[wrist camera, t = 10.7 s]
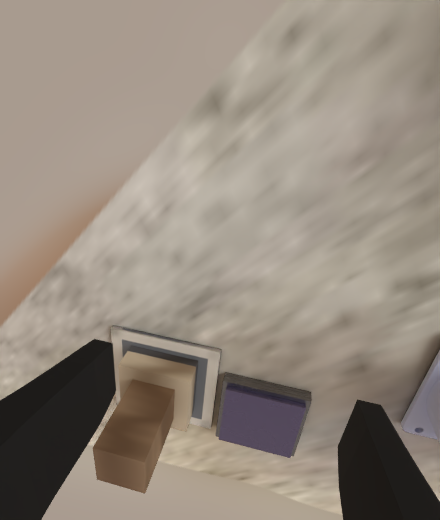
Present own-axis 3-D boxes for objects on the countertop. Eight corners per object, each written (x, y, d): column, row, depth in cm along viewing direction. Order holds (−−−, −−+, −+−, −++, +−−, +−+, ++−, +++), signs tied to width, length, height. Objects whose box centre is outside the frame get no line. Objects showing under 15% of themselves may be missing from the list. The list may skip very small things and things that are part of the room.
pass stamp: (198, 360, 23) (162, 456, 17) (194, 408, 26) (161, 507, 20) (131, 345, 24) (74, 431, 18) (133, 393, 26) (83, 484, 20)
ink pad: (310, 392, 23) (311, 406, 22) (293, 446, 26) (293, 461, 25) (225, 372, 24) (222, 385, 23) (217, 426, 27) (214, 440, 25)
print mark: (221, 349, 23) (220, 352, 23) (211, 425, 27) (210, 428, 26) (112, 325, 24) (110, 328, 24) (118, 401, 28) (116, 404, 27)
